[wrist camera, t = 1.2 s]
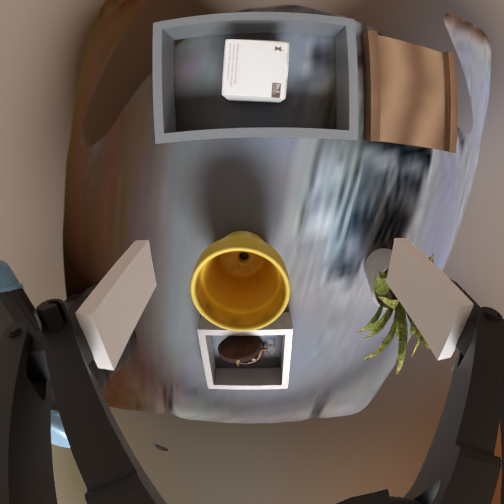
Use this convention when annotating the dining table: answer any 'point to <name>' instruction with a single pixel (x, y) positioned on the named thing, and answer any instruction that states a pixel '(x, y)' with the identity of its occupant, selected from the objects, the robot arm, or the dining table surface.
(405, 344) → the house plant
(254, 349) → the compass
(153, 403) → the dining table surface
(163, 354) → the dining table surface
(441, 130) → the tray
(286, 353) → the dish
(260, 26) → the grey storage bin
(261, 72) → the skincare box
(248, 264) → the plant pot
